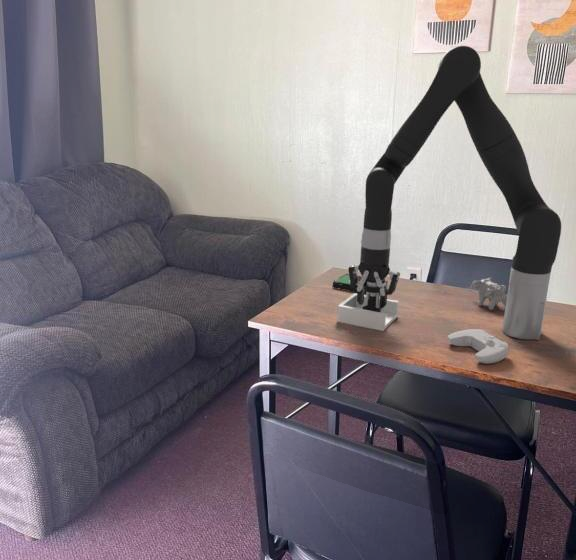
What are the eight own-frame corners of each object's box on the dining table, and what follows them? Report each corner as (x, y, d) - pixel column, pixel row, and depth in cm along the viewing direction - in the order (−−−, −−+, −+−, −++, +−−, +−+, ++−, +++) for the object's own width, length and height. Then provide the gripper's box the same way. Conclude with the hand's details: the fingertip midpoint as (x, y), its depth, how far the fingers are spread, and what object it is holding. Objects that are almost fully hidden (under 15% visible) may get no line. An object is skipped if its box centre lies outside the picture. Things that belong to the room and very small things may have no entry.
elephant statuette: (499, 313, 159) (502, 288, 157) (459, 304, 166) (461, 279, 164) (510, 305, 166) (514, 280, 163) (471, 296, 173) (474, 272, 171)
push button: (353, 316, 151) (356, 281, 148) (361, 310, 156) (363, 276, 153) (377, 321, 148) (379, 285, 145) (384, 315, 153) (386, 280, 150)
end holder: (397, 316, 155) (398, 301, 154) (383, 331, 145) (384, 314, 143) (353, 308, 161) (354, 293, 159) (337, 321, 151) (337, 305, 149)
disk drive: (387, 289, 180) (345, 280, 187) (388, 280, 179) (345, 272, 186) (375, 297, 172) (331, 288, 178) (376, 289, 171) (332, 280, 178)
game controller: (442, 332, 137) (476, 319, 140) (444, 347, 139) (477, 335, 142) (481, 356, 125) (517, 341, 127) (482, 373, 126) (518, 358, 129)
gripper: (406, 245, 146) (401, 306, 151) (355, 238, 152) (351, 297, 158) (398, 251, 140) (392, 315, 145) (344, 244, 146) (341, 305, 151)
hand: (371, 305), depth 151 cm, fingers open, 5 cm apart
